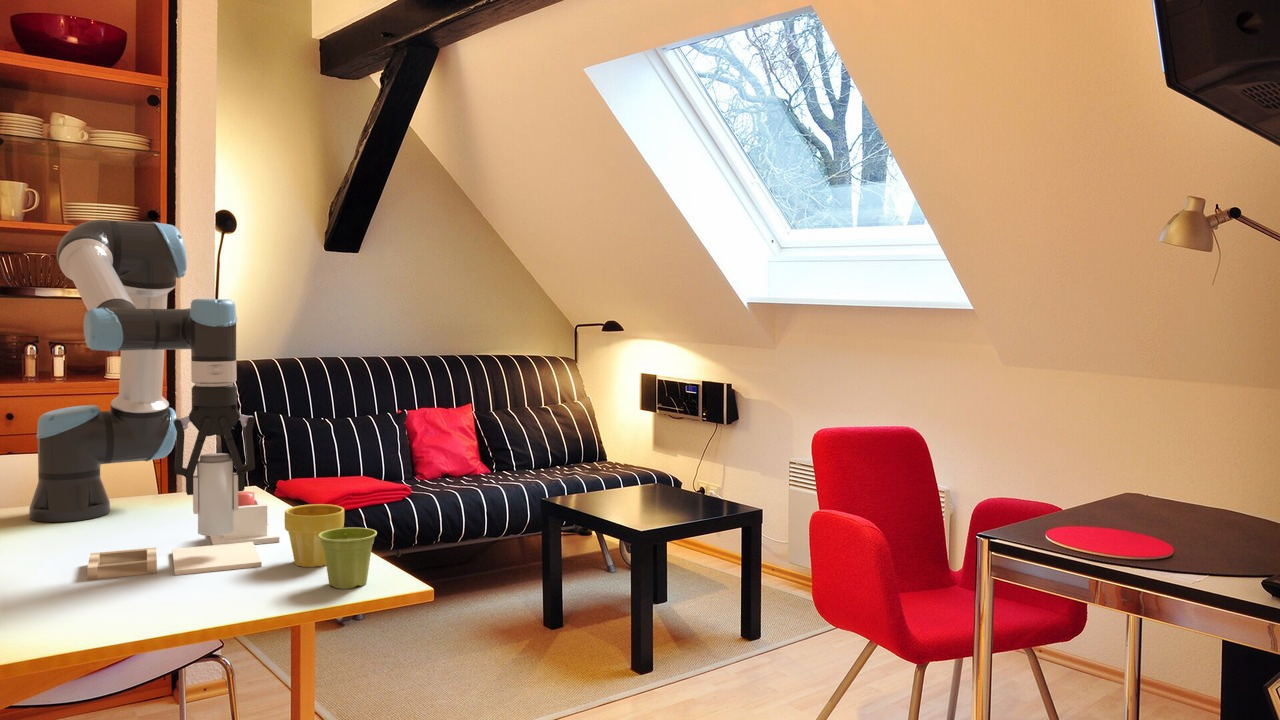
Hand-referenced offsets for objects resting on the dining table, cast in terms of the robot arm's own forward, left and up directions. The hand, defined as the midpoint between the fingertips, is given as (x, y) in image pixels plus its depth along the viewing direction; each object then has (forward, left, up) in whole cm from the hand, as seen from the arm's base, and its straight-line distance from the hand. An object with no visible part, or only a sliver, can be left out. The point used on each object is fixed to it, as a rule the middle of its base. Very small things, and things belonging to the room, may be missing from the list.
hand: (215, 510), depth 178 cm
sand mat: (0, 0, -9) cm, 9 cm away
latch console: (-15, +6, -9) cm, 19 cm away
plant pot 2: (+25, +19, -9) cm, 33 cm away
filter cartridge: (0, 0, -4) cm, 4 cm away
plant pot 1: (+9, +16, -9) cm, 21 cm away
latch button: (-15, +6, -5) cm, 17 cm away
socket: (0, -15, -9) cm, 18 cm away
